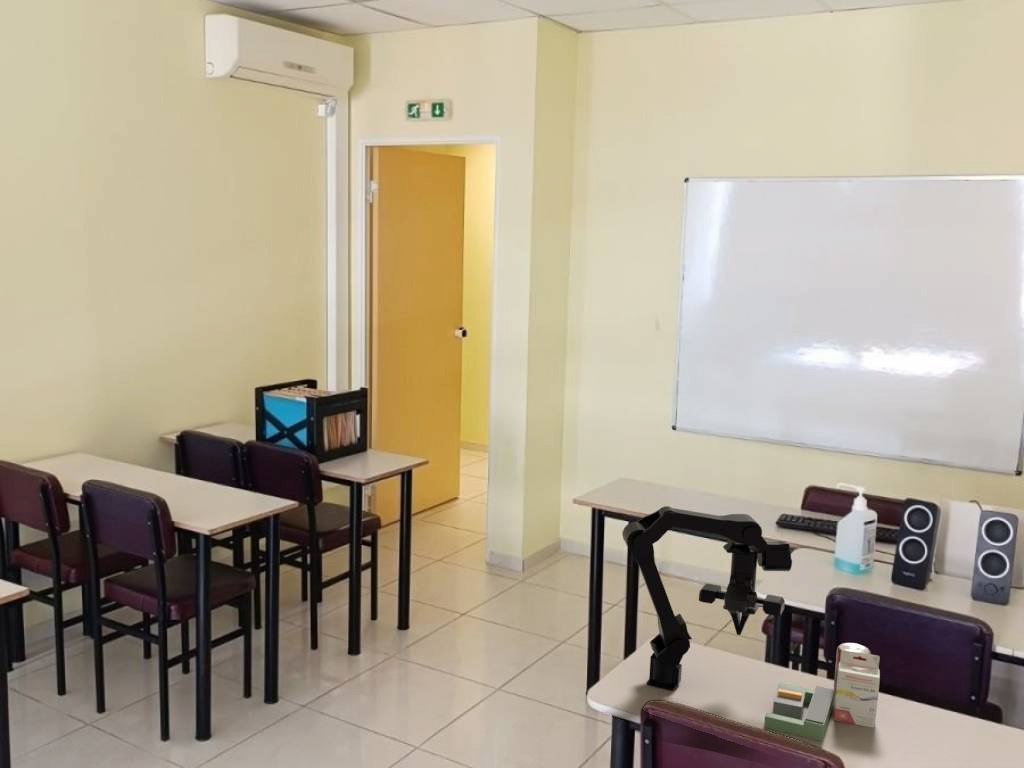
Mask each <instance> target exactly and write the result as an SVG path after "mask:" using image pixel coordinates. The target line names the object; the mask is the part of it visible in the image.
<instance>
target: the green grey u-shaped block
mask: <svg viewBox="0 0 1024 768" xmlns="http://www.w3.org/2000/svg"><path fill="white" fill-rule="evenodd" d="M778 686H780V687H785V688H790V689H795V690H801V691H806V693H805V704H808V705H809V706H808V708H807V711H806V713H805V717H804V720H802V719H801V720H798V719H794V718H789V717H785V716H781V715H777V714H773V712H766V713H765V715H764V723H763V725H764V726H763V728H764V729H765V728H767V729H770V730H775V731H778V732H783V733H787V734H791V735H795V736H799V737H804V738H808V739H812V740H817V741H819V742H820V741H821V742H823V741H824V738H825V733H826V730H827V728H828V727H827V726H828V723H829V721H830V717H831V714H832V710H833V707H834V703H835V696H834V691H835V690H834V688H829V687H824V686H818V685H816V686H815V689H812V688H807V687H802V686H798V685H794V684H789V683H785V682H779V684H778ZM778 686H777V687H778Z"/></svg>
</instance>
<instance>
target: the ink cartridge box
mask: <svg viewBox="0 0 1024 768" xmlns="http://www.w3.org/2000/svg"><path fill="white" fill-rule="evenodd" d="M859 656H861V657H862V658H865V659H867V660H866V661H862V660H857V659H853V657H859ZM880 660H881V659H880V655H876V654H872V653H871V654H866V653H860V652H854V651H847V650H841V656H840V662H839V666H838V676H837V686H836V695H835V696H834V704H833V707H834V708H833V720H834V721H838V722H842V723H847V724H852V725H857V726H862V727H866V728H871V729H875V728H876V718H877V710H878V709H877V708H878V700H879V689H880V679H881V678H880V676H881V675H880V673H881V672H880V671H881V670H880V669H879V668H880V667H879V665H880Z"/></svg>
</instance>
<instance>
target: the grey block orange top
mask: <svg viewBox="0 0 1024 768" xmlns="http://www.w3.org/2000/svg"><path fill="white" fill-rule="evenodd" d="M805 693H806V691H801V690H795V689H790V688H785V687H780V686H777V689H776V691H775V696H774V700H773V704H772V705H773V707H772V714H777V715H781V716H785V717H789V718H794V719H798V720H802V719H803V718H802V717H803V713H804V711H805V710H804V709H805V704H806V702H805Z"/></svg>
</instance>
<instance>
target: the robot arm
mask: <svg viewBox="0 0 1024 768" xmlns="http://www.w3.org/2000/svg"><path fill="white" fill-rule="evenodd" d="M673 528H676V529H682V530H688V531H694V532H699V533H705V534H706V533H707V534H711V535H719V536H721V537H723V538H724V537H725V538H727V539H729V542H727V543H725V544H724V545H723V546H722V548H723V549H724V551H726V553H727V554H731V563H730V564H731V565H730V576H729V582H728V585H727V586H726V591H723V590H722V587H721V586H722V585H717V584H714V583H713V584H712V583H705V584H704V585H703V586H702V588H701V589H700V590H699V593H698V601H699V602H701V603H706V604H713V603H715V602H716V599H717V600H722V601H723V603H724V604H723V606H722V608H723V610H727V611H728V613H729V614H730V617H731V619H732V622H733V625H734V626H733V627H734V628H735V632H736V635H737V636H741V635H742V633H743V631H744V628H745V626H746V624H747V621H748V620H749V616H750V615H755V614H756V613H757V611H758V610H759V608H762V611H763V613H764V614H765V615H769V616H775V617H781V616H782V613H783V612H784V610H785V605H786V604H785V603H786V602H785V599H784V598H783V596H778V595H772V594H767V595H766V597H765V598H761V597H758V594H757V592H756V584H757V583H756V581H757V580H756V579H757V570H758V569H757V568H758V567H757V566H759V567H761V569H762V570H763V571H764V572H790V571H791V569H792V565H793V559H792V553H791V550H790V544H789V542H788V541H786V540H785V541H784V540H780V541H767V540H766V539H764V538H763V530H762V527H761V525H760V524H759V523H758V522H757V521H756V520H755V519H754V518H753V517H752V516H751V515H749V514H747V513H732V514H726V515H716V514H710V513H704V512H698V511H693V510H687V509H680V508H674V507H671V506H662V507H660V508H659V509H658V510H656V511H654V512H652V513H650V514H648V515H645V516H643V517H641V518H640V519H638V520H637V521H633V522H632V521H631V522H630V523H628V524H626V525H625V527H624V528H623V530H622V533H621V534H622V538H623V542H624V543H625V545H626V547H627V548H628V550H629V552H630V553H631V555H632V557H633V558H634V560H635V562H636V563H637V565H638V567H639V569H640V573H641V575H642V578H643V581H644V583H645V586H646V589H647V591H648V592H647V593H648V594H649V596H650V599H651V601H652V604H653V607H654V610H655V613H656V618H657V625H658V627H657V628H658V634H657V635H656V636H654V638H652V639H651V640H650V641H649V644H650V648H651V650H652V651H653V653H652V654H651V655H650V658H649V659H650V661H649V676H648V680H647V681H646V685H648V686H653V687H656V688H662V689H665V690H670V691H674V690H675V689H676V688H677V686H678V685H679V684H680V682H681V681H682V672H683V671H682V670H683V669H682V667H683V665H682V663H681V661H682V659H683V656H684V655H685V654H687V653H688V651H689V649H690V648H691V642H690V640H693V638H692V637H691V635H690V633H689V630H688V627H687V623H686V621H685V619H684V617H683V616H682V614H681V613H678V614H676V615H675V613H674V611H673V609H672V605H671V603H670V600H669V597H668V595H667V592H666V589H665V585H664V584H663V583H664V582H663V581H662V580H663V579H662V578H661V575H660V572H659V570H658V567H657V564H656V560H655V559H656V558H655V550H654V544H655V543H657V542H659V540H660V539H661V538H662V537H663V536H665V534H666V533H667V532H668V531H669V530H671V529H673ZM735 542H736V543H735Z"/></svg>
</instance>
